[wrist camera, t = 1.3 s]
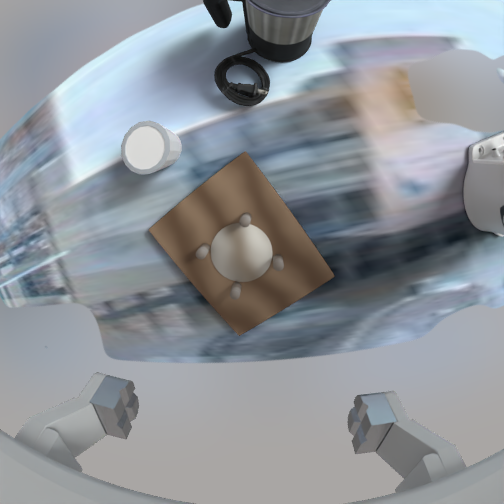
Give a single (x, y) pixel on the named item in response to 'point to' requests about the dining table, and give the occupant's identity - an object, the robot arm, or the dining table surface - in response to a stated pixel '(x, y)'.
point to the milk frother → (265, 39)
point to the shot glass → (149, 147)
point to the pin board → (242, 246)
